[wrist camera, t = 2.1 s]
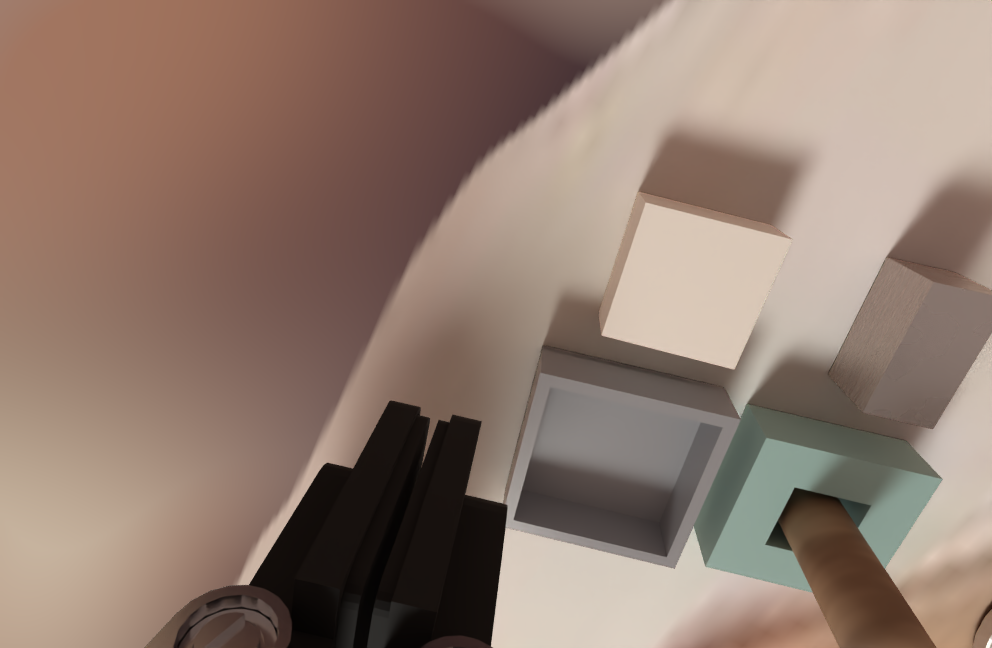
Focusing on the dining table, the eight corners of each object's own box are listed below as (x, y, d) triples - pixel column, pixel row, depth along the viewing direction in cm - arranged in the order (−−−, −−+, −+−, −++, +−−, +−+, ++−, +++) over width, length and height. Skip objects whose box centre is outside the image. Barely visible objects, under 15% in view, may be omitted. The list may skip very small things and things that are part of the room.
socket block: (906, 441, 28) (942, 479, 26) (836, 559, 32) (862, 604, 29) (747, 403, 29) (766, 437, 26) (693, 524, 32) (705, 566, 29)
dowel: (834, 468, 29) (955, 642, 20) (810, 513, 31) (913, 696, 21) (776, 455, 30) (871, 622, 20) (754, 500, 31) (834, 677, 22)
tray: (723, 387, 28) (740, 419, 26) (665, 527, 32) (674, 568, 29) (542, 344, 29) (540, 372, 26) (505, 488, 32) (499, 526, 30)
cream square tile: (768, 223, 25) (793, 239, 23) (717, 341, 28) (734, 369, 25) (637, 190, 26) (645, 202, 23) (597, 311, 28) (601, 335, 25)
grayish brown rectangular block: (954, 272, 25) (1011, 299, 22) (890, 388, 27) (932, 429, 24) (886, 256, 25) (933, 282, 22) (828, 374, 28) (862, 412, 24)
